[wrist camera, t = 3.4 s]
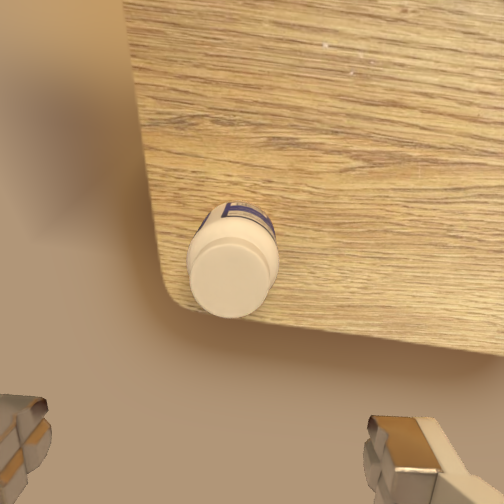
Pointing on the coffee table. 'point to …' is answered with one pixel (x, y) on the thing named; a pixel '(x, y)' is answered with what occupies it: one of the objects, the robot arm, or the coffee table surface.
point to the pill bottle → (233, 260)
